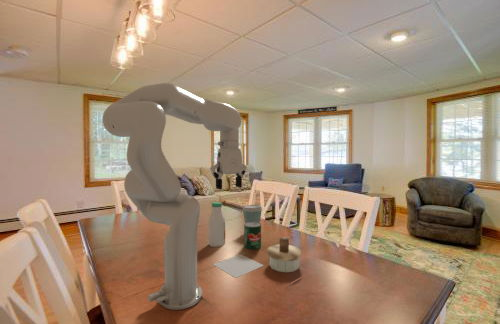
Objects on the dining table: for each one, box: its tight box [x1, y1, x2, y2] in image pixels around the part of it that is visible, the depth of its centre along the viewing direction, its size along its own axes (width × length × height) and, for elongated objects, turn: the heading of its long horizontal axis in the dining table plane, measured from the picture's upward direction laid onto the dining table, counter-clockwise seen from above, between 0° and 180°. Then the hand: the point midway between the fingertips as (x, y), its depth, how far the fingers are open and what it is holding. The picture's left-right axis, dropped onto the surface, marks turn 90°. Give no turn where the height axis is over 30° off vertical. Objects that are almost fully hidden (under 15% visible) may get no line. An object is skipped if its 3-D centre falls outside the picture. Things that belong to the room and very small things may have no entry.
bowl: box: [269, 257, 300, 273], centre depth 97 cm, size 11×11×5 cm
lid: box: [266, 236, 302, 261], centre depth 97 cm, size 13×13×6 cm
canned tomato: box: [243, 222, 262, 251], centre depth 116 cm, size 8×8×11 cm
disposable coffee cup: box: [242, 204, 263, 224], centre depth 136 cm, size 11×11×15 cm
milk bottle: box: [208, 201, 226, 248], centre depth 119 cm, size 8×8×20 cm
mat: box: [212, 253, 265, 279], centre depth 98 cm, size 14×14×1 cm
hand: (229, 187), depth 101 cm, fingers open, 9 cm apart
